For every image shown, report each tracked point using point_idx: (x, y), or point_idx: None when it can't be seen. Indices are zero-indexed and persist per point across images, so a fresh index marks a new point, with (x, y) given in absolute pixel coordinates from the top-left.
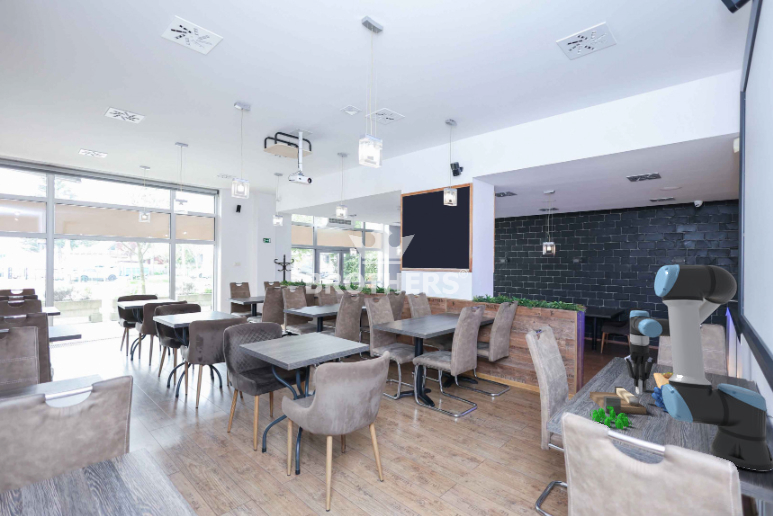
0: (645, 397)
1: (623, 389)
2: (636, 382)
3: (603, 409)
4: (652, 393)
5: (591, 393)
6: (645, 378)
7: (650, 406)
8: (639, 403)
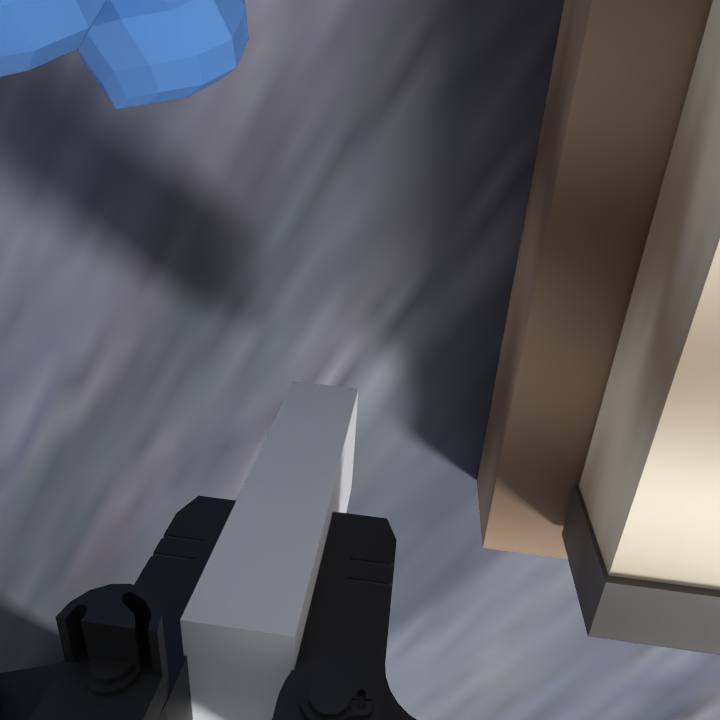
0: (146, 523)
1: (675, 505)
2: (363, 609)
3: None
4: (196, 31)
5: None
6: (18, 701)
7: (249, 218)
8: (597, 9)
